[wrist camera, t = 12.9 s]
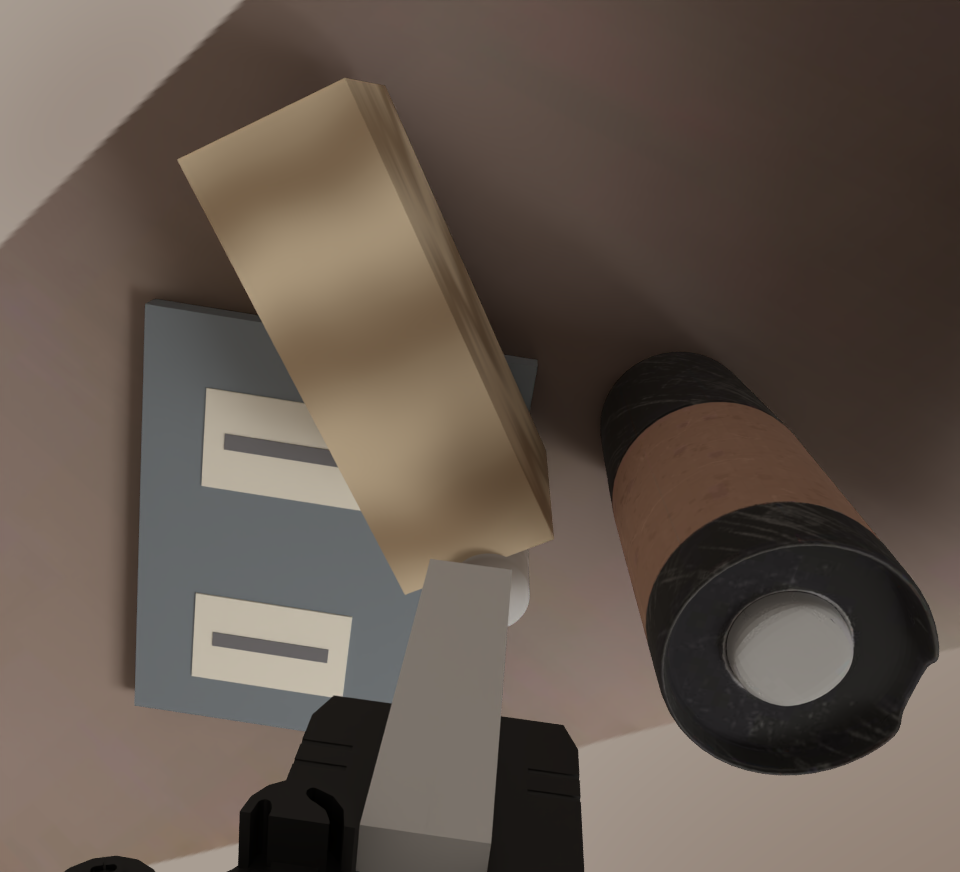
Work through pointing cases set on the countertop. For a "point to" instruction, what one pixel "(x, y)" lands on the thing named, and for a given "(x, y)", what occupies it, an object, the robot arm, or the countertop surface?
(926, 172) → the countertop surface
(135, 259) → the countertop surface
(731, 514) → the travel mug
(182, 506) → the label board
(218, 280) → the countertop surface
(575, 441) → the countertop surface
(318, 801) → the robot arm
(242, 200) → the tan wooden block
